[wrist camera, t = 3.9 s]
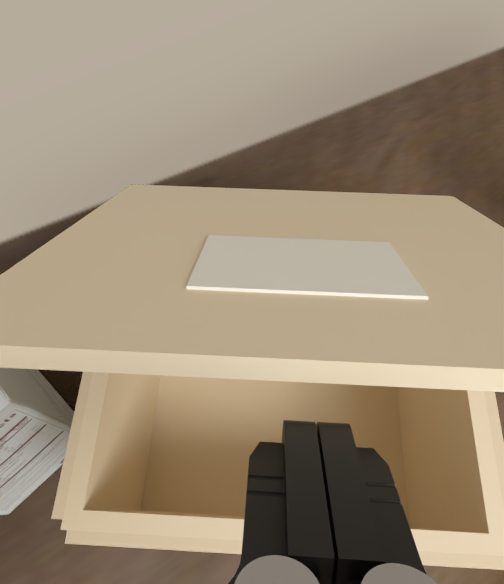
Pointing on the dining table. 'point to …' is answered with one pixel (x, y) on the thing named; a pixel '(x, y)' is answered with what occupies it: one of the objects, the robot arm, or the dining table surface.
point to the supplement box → (29, 434)
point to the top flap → (266, 290)
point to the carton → (268, 428)
